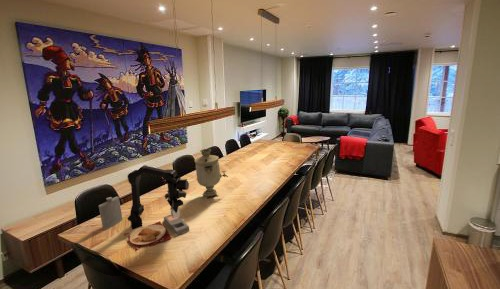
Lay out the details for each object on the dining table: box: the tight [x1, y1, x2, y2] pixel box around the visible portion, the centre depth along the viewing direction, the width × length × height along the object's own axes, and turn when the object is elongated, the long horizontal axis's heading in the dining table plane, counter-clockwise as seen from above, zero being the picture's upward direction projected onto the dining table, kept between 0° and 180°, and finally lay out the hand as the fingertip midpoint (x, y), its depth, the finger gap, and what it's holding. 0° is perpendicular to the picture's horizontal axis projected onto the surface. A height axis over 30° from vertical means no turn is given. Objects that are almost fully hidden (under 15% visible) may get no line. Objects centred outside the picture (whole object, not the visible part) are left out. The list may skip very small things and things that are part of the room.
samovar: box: [194, 148, 229, 200], centre depth 221 cm, size 30×26×40 cm
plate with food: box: [123, 220, 173, 252], centre depth 168 cm, size 24×26×4 cm
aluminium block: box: [169, 206, 181, 218], centre depth 176 cm, size 4×4×6 cm
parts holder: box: [163, 214, 190, 236], centre depth 179 cm, size 8×24×3 cm, turn 36°
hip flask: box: [98, 196, 123, 231], centre depth 184 cm, size 16×4×20 cm, turn 161°
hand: (174, 211), depth 175 cm, fingers closed on aluminium block, 4 cm apart
